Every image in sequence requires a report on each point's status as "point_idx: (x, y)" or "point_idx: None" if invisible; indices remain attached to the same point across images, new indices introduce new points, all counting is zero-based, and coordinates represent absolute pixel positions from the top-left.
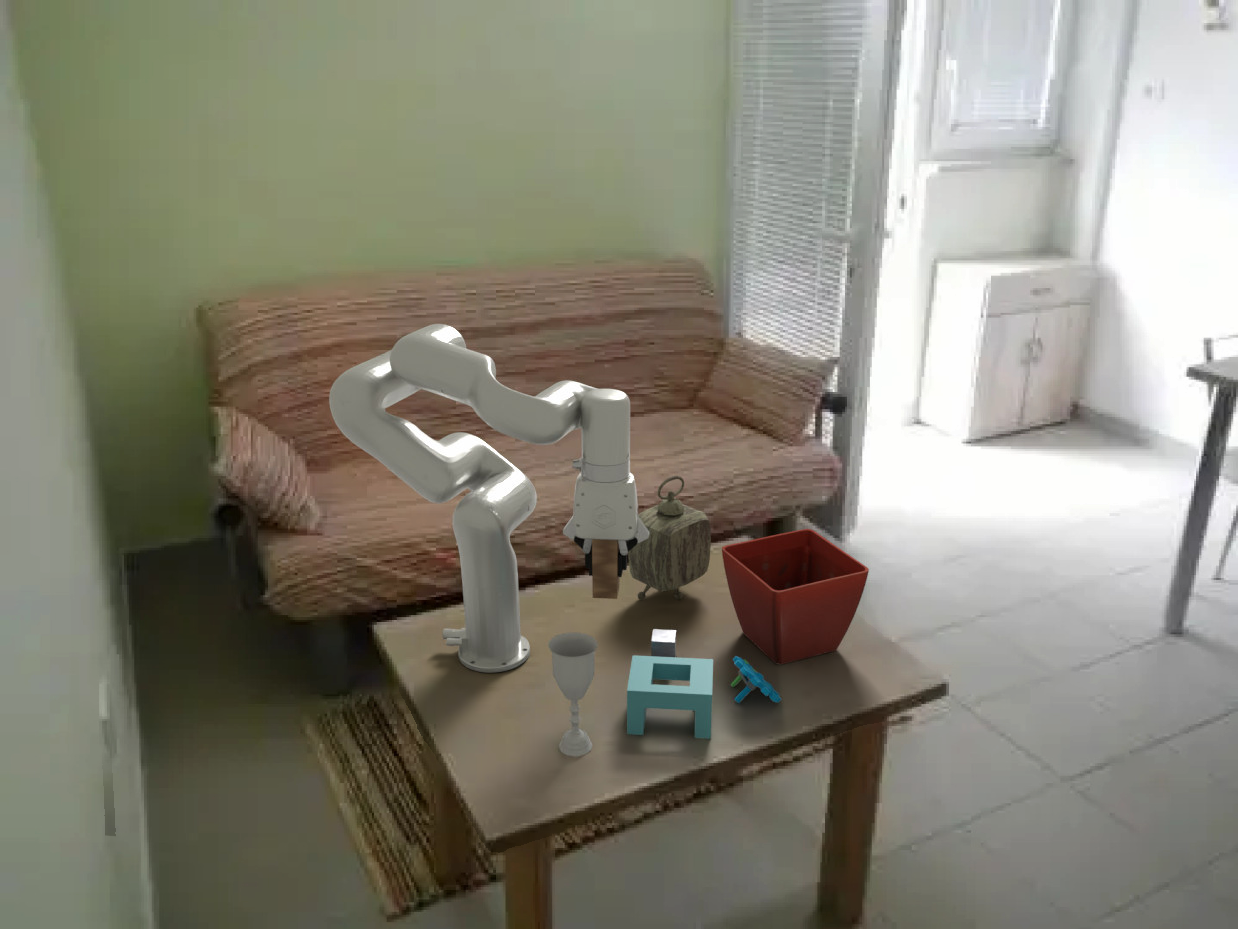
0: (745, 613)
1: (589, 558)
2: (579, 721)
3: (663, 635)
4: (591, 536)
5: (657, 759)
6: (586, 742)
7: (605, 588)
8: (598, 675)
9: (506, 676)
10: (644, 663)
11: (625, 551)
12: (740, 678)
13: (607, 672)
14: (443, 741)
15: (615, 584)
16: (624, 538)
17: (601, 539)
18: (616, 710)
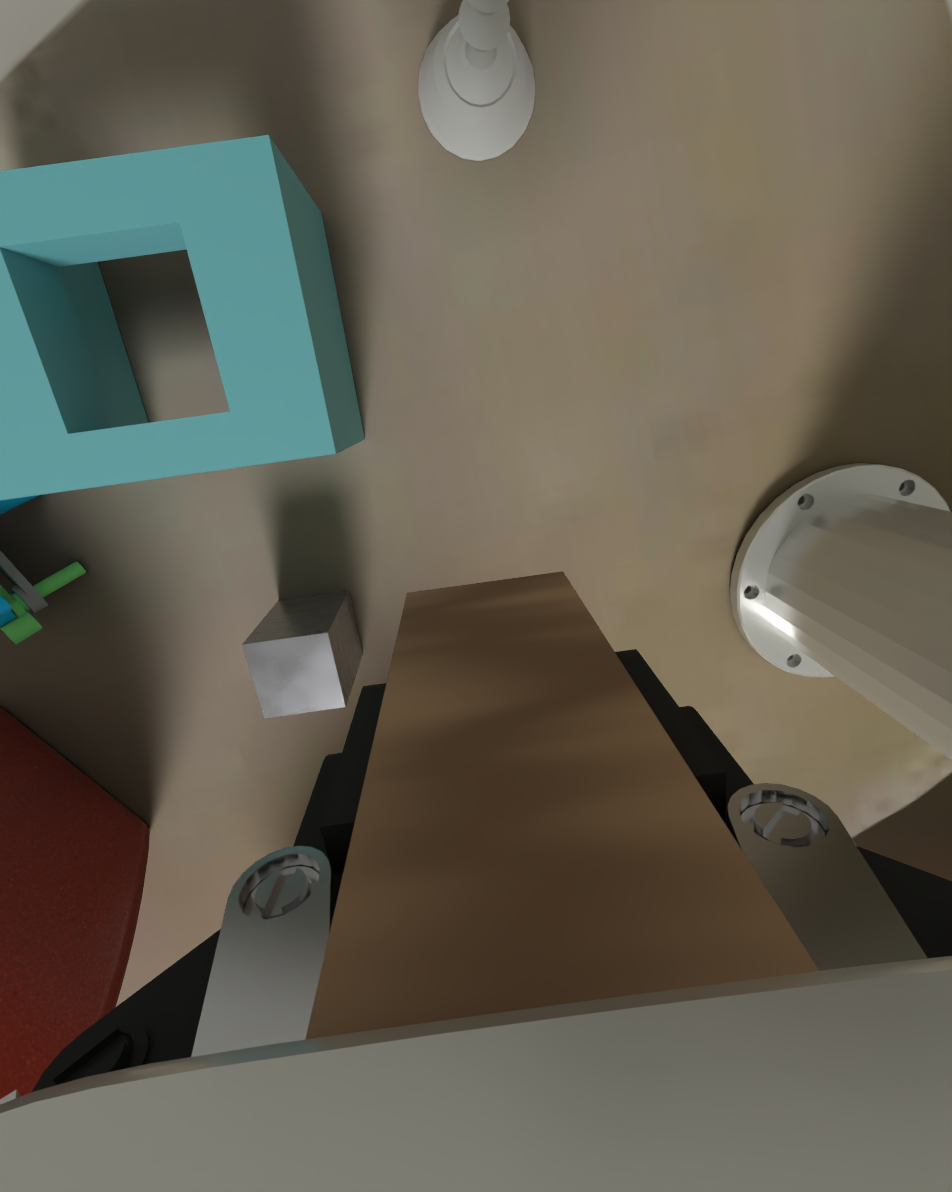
0: (66, 858)
1: (693, 741)
2: (461, 3)
3: (296, 677)
4: (929, 1036)
5: (171, 70)
6: (432, 57)
7: (484, 608)
8: (500, 534)
9: (781, 464)
10: (265, 399)
11: (259, 894)
12: (40, 582)
13: (477, 556)
14: (946, 9)
15: (410, 633)
16: (30, 1136)
17: (630, 1000)
18: (395, 352)
